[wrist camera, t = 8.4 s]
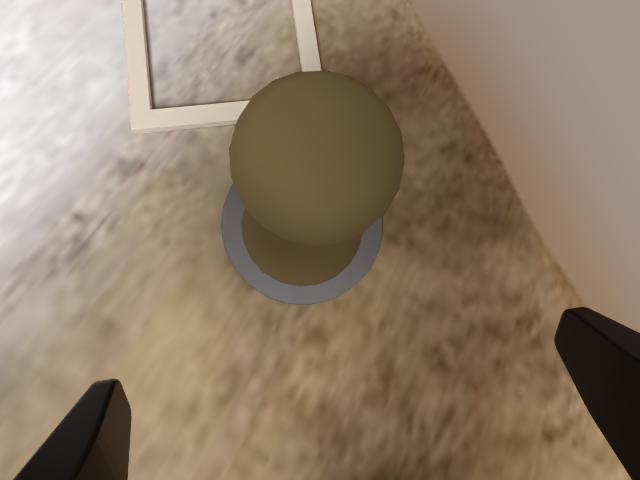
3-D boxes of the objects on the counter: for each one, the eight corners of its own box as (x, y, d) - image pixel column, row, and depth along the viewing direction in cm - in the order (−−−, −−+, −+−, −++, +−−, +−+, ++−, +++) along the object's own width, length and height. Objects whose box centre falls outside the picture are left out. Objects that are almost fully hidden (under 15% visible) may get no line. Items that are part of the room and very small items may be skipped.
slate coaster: (377, 309, 23) (379, 308, 23) (215, 299, 23) (213, 298, 22) (382, 157, 25) (384, 153, 24) (230, 144, 24) (229, 140, 24)
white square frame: (326, 115, 25) (327, 110, 24) (134, 134, 24) (131, 130, 23) (301, -47, 27) (301, -54, 26) (120, -37, 26) (117, -44, 25)
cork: (215, 233, 23) (156, 147, 12) (294, 144, 24) (305, -7, 13) (311, 312, 22) (340, 297, 12) (386, 218, 24) (476, 125, 13)
